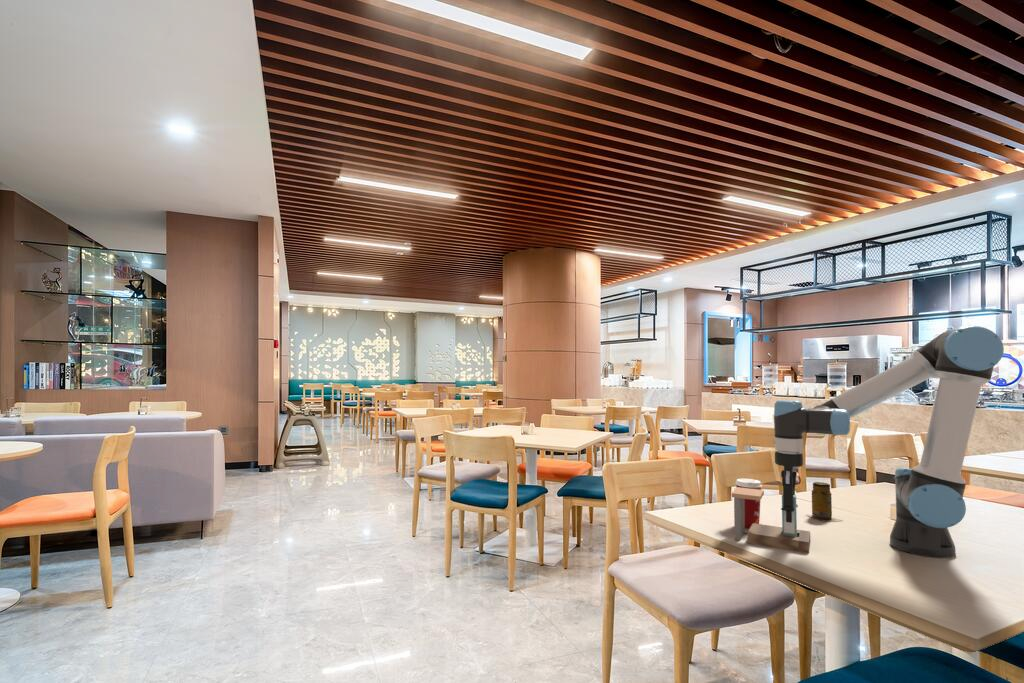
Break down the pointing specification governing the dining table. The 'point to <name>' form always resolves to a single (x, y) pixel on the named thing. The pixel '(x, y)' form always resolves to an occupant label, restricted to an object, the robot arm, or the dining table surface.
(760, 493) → the toy block arch
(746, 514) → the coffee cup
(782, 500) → the peg
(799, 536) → the socket block
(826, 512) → the condiment
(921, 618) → the dining table surface
